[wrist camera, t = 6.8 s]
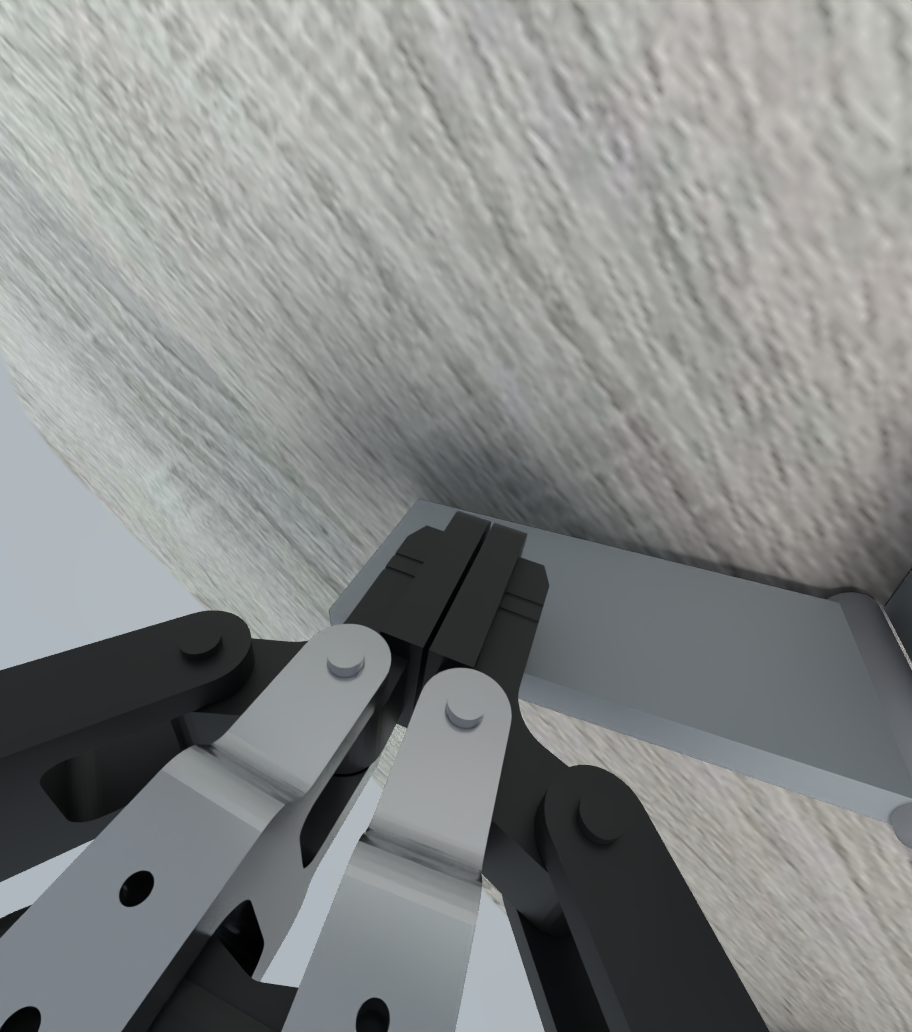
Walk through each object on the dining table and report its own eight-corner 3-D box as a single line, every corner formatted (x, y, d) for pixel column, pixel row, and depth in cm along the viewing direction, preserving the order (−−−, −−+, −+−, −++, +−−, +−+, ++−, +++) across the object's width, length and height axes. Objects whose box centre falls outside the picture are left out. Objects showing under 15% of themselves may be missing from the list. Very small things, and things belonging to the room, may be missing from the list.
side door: (891, 600, 11) (1017, 834, 7) (863, 636, 12) (965, 868, 8) (422, 488, 14) (322, 609, 10) (421, 521, 15) (328, 648, 11)
